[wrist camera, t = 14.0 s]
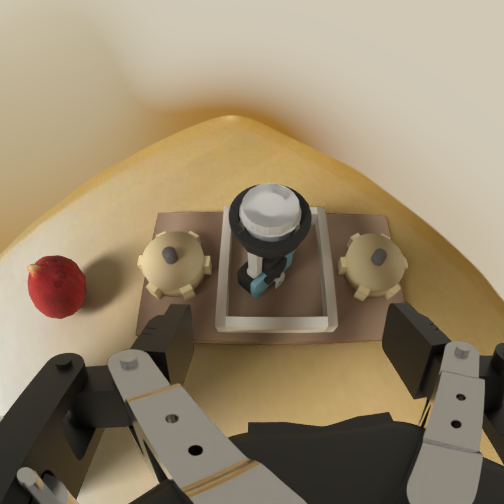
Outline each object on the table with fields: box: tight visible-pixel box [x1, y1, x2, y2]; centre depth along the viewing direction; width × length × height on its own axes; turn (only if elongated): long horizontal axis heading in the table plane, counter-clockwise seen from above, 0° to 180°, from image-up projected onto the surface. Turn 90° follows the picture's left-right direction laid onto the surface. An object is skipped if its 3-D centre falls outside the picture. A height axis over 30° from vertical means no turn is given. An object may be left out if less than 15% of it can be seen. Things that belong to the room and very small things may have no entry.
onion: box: [27, 255, 86, 319], centre depth 24 cm, size 6×6×8 cm
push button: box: [229, 183, 312, 299], centre depth 24 cm, size 7×5×10 cm
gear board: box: [136, 206, 408, 345], centre depth 27 cm, size 25×13×4 cm, turn 89°
